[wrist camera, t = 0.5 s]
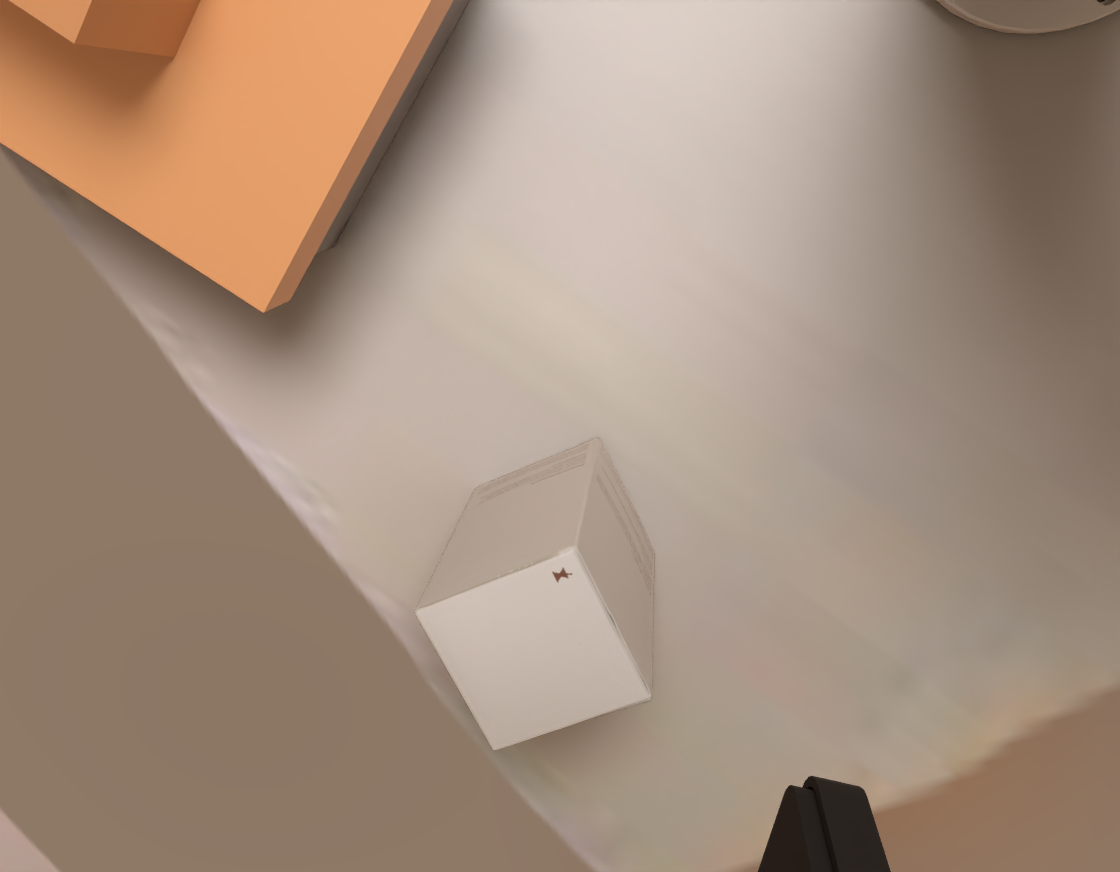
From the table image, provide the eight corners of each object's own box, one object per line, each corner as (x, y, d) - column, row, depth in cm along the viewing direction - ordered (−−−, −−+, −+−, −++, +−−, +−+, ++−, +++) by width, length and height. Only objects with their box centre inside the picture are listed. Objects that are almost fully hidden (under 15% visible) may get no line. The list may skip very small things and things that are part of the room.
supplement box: (470, 485, 47) (406, 607, 35) (601, 433, 46) (580, 542, 34) (531, 604, 49) (489, 757, 37) (659, 557, 48) (657, 702, 36)
